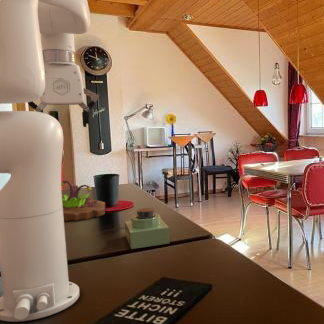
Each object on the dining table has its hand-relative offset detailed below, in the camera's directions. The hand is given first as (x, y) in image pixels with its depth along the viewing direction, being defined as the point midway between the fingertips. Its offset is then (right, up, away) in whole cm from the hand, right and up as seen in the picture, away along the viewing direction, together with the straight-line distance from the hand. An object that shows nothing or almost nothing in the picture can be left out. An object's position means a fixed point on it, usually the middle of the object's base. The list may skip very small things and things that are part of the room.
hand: (64, 127), depth 100 cm
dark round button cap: (+22, -23, -4) cm, 32 cm away
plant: (-9, -26, +25) cm, 37 cm away
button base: (+22, -28, -3) cm, 36 cm away
